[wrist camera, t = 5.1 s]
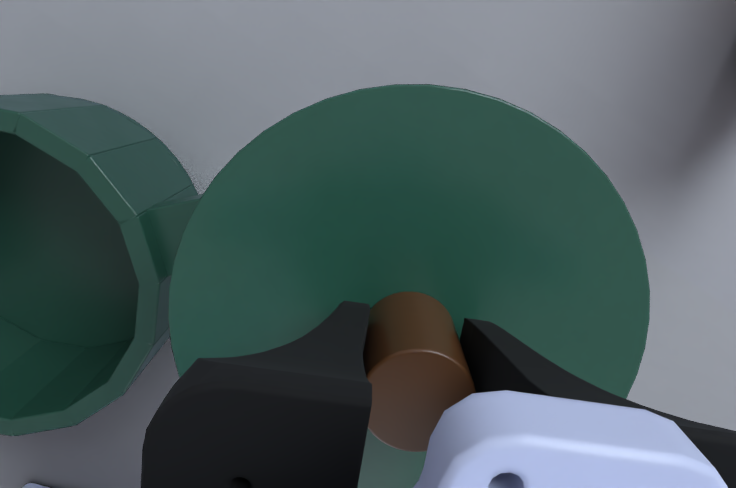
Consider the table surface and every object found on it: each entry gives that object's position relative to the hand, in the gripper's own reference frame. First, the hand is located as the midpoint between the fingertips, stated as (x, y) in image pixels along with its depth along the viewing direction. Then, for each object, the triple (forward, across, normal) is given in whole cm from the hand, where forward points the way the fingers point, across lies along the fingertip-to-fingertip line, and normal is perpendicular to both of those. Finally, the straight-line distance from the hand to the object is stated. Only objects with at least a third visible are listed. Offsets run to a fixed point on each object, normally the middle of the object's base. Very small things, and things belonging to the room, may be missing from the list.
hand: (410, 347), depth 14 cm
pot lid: (+1, 0, 0) cm, 1 cm away
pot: (+10, +14, +2) cm, 17 cm away
